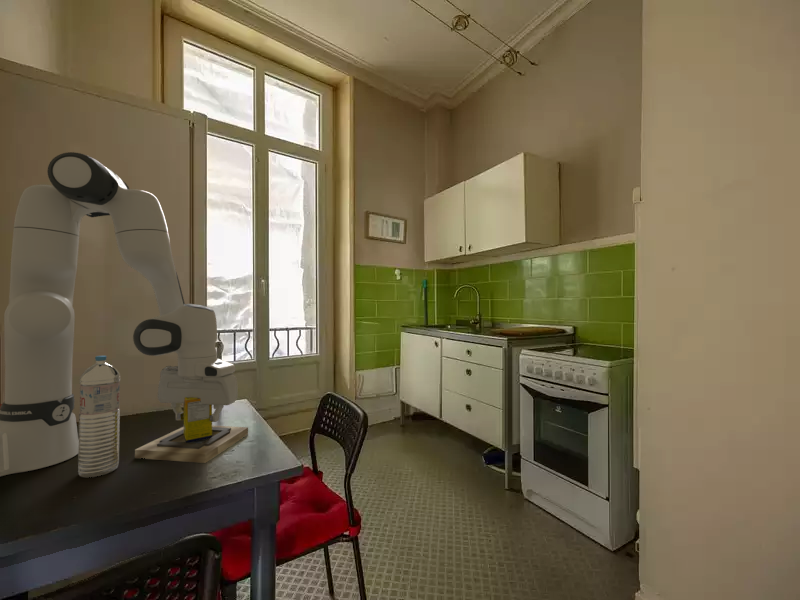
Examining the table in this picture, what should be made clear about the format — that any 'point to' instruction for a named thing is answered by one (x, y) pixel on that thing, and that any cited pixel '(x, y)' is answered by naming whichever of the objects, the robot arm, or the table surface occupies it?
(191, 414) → the supplement box
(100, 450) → the water bottle
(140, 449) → the socket block
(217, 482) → the table surface
